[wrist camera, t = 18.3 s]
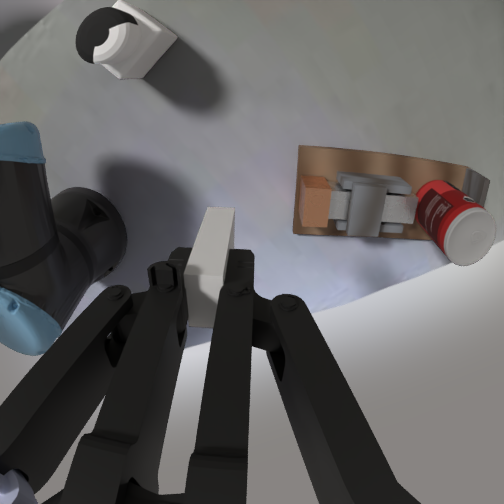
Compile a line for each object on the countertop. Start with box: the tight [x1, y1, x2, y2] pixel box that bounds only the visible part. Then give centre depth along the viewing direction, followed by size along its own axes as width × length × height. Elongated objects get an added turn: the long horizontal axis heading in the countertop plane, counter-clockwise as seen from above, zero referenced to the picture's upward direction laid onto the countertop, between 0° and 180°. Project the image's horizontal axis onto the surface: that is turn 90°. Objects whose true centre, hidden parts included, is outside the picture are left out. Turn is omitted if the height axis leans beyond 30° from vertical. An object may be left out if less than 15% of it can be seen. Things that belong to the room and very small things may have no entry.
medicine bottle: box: [76, 0, 178, 80], centre depth 27 cm, size 7×7×12 cm
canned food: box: [415, 180, 496, 266], centre depth 36 cm, size 8×8×11 cm
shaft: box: [298, 175, 419, 227], centre depth 39 cm, size 15×5×5 cm, turn 89°
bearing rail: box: [293, 145, 490, 240], centre depth 39 cm, size 26×12×7 cm, turn 89°
